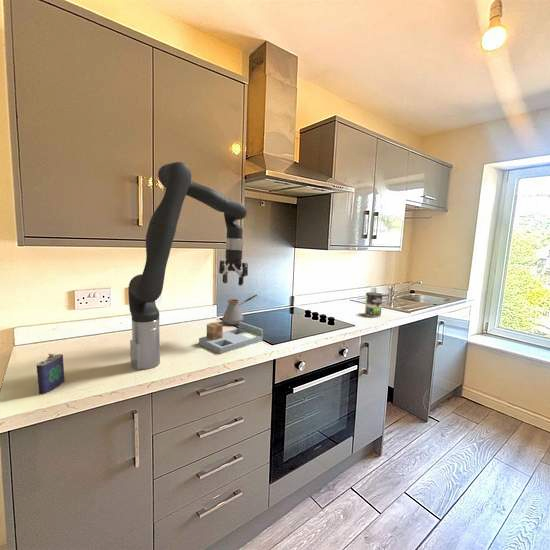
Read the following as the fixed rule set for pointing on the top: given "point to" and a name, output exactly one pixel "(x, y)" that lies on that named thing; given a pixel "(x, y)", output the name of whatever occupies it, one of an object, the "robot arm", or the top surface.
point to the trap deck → (234, 338)
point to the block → (214, 331)
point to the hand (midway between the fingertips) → (232, 284)
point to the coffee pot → (234, 312)
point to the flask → (50, 373)
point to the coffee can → (373, 304)
